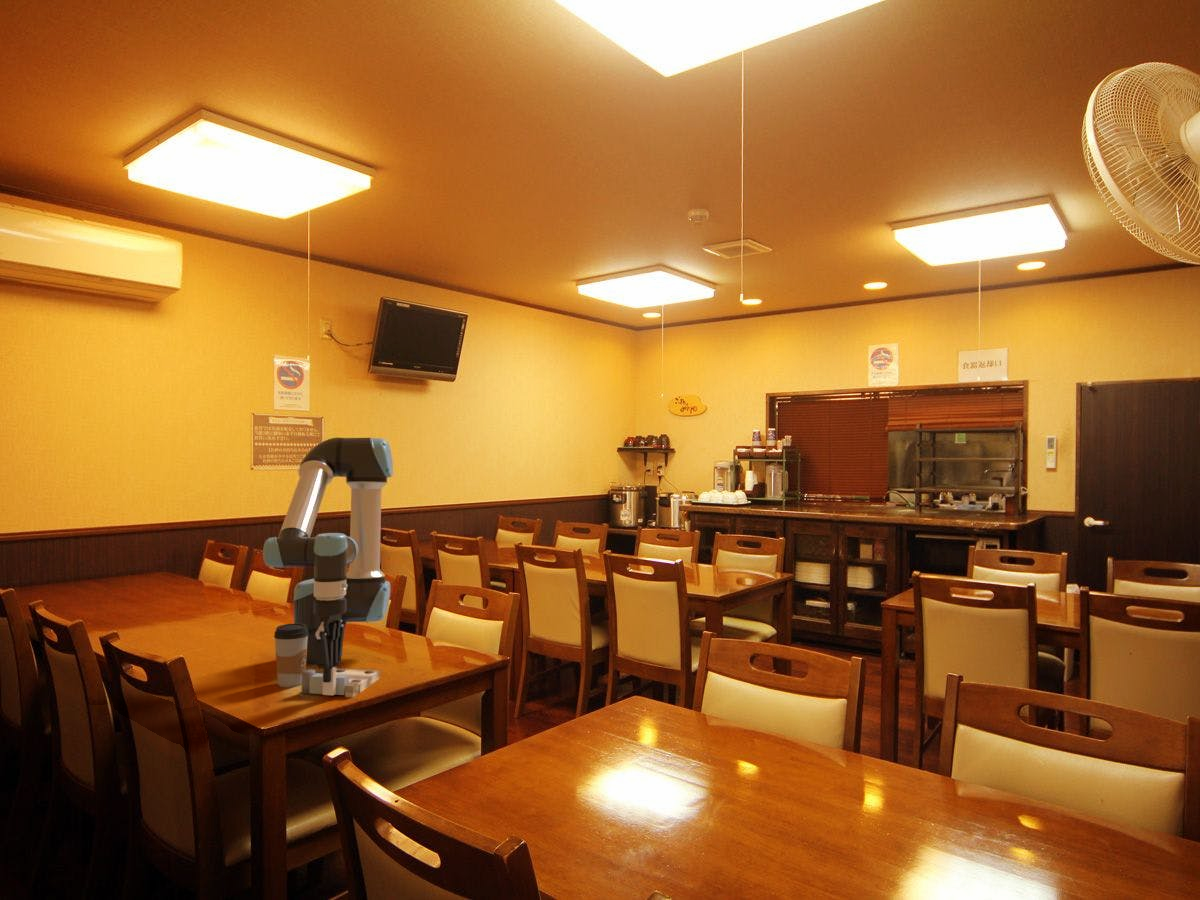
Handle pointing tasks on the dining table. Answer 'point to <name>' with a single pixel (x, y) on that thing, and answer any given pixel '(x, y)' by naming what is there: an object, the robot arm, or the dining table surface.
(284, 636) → the coffee cup
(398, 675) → the dining table surface
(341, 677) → the leg bar
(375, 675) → the seat panel
